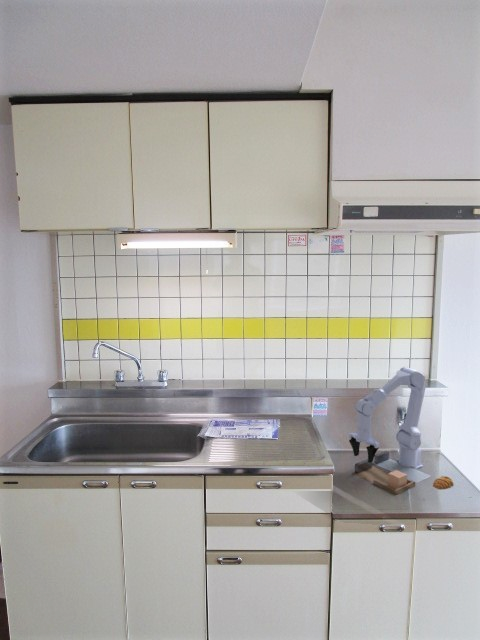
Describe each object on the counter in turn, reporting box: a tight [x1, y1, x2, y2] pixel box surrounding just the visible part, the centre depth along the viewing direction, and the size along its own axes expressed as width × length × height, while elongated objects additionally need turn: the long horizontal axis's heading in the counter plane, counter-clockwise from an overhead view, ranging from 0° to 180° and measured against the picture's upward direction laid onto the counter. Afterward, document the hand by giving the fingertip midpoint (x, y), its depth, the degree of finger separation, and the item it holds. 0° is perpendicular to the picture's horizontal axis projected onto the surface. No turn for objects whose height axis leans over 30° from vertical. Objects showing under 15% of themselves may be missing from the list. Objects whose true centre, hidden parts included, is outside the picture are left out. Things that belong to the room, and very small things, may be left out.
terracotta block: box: [387, 470, 407, 489], centre depth 170 cm, size 5×5×5 cm
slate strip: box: [372, 450, 432, 484], centre depth 184 cm, size 10×22×5 cm, turn 34°
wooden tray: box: [352, 458, 416, 495], centre depth 176 cm, size 12×22×5 cm, turn 34°
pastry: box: [432, 475, 455, 490], centre depth 171 cm, size 9×7×4 cm
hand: (363, 458), depth 184 cm, fingers open, 7 cm apart
